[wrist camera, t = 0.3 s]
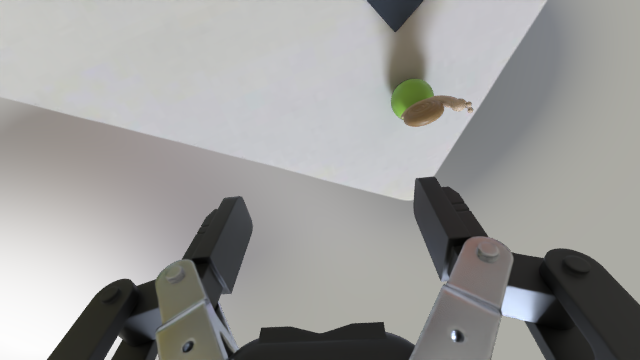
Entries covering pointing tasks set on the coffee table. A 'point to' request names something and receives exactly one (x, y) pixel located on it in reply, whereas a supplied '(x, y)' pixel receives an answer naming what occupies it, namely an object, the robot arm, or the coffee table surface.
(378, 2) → the slate mat
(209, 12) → the coffee table surface
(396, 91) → the snail figurine
